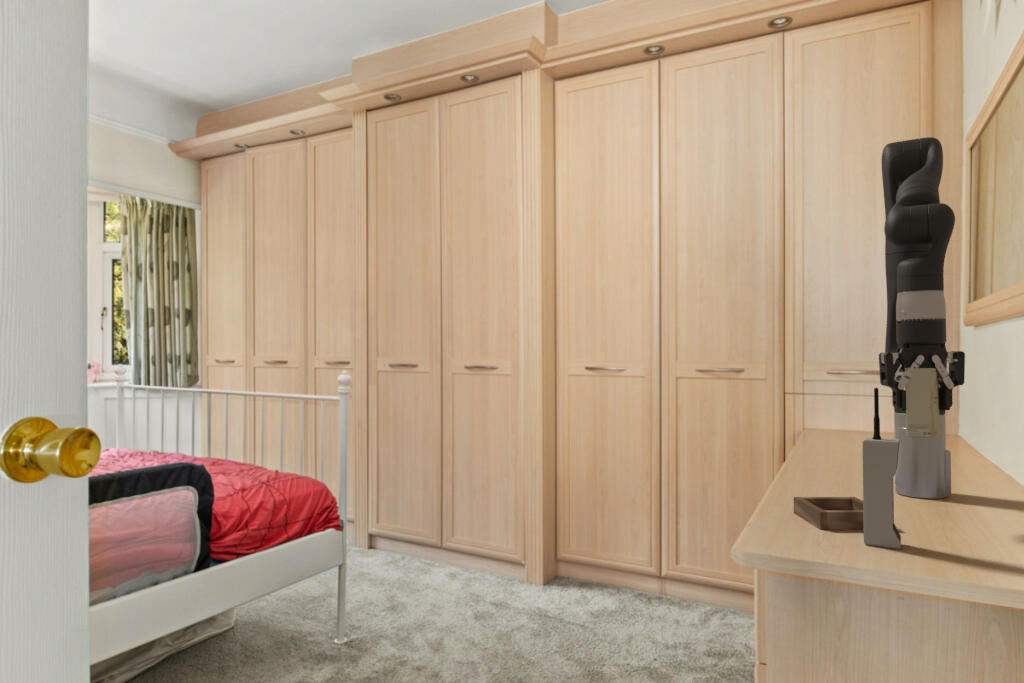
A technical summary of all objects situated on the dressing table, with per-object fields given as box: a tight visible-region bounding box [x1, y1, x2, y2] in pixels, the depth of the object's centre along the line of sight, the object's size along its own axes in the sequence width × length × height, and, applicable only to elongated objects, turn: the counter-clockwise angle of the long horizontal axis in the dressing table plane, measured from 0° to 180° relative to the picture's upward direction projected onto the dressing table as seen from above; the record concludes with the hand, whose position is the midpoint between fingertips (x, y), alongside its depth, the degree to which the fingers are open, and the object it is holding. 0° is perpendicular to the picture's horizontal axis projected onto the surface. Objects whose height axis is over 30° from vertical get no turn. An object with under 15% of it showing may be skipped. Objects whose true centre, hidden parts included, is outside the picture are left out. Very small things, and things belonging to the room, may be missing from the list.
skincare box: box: [904, 368, 940, 438], centre depth 116 cm, size 6×4×12 cm
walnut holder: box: [793, 496, 864, 531], centre depth 118 cm, size 11×11×3 cm
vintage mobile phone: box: [861, 387, 902, 550], centre depth 104 cm, size 4×5×25 cm
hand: (922, 410), depth 116 cm, fingers closed on skincare box, 7 cm apart
